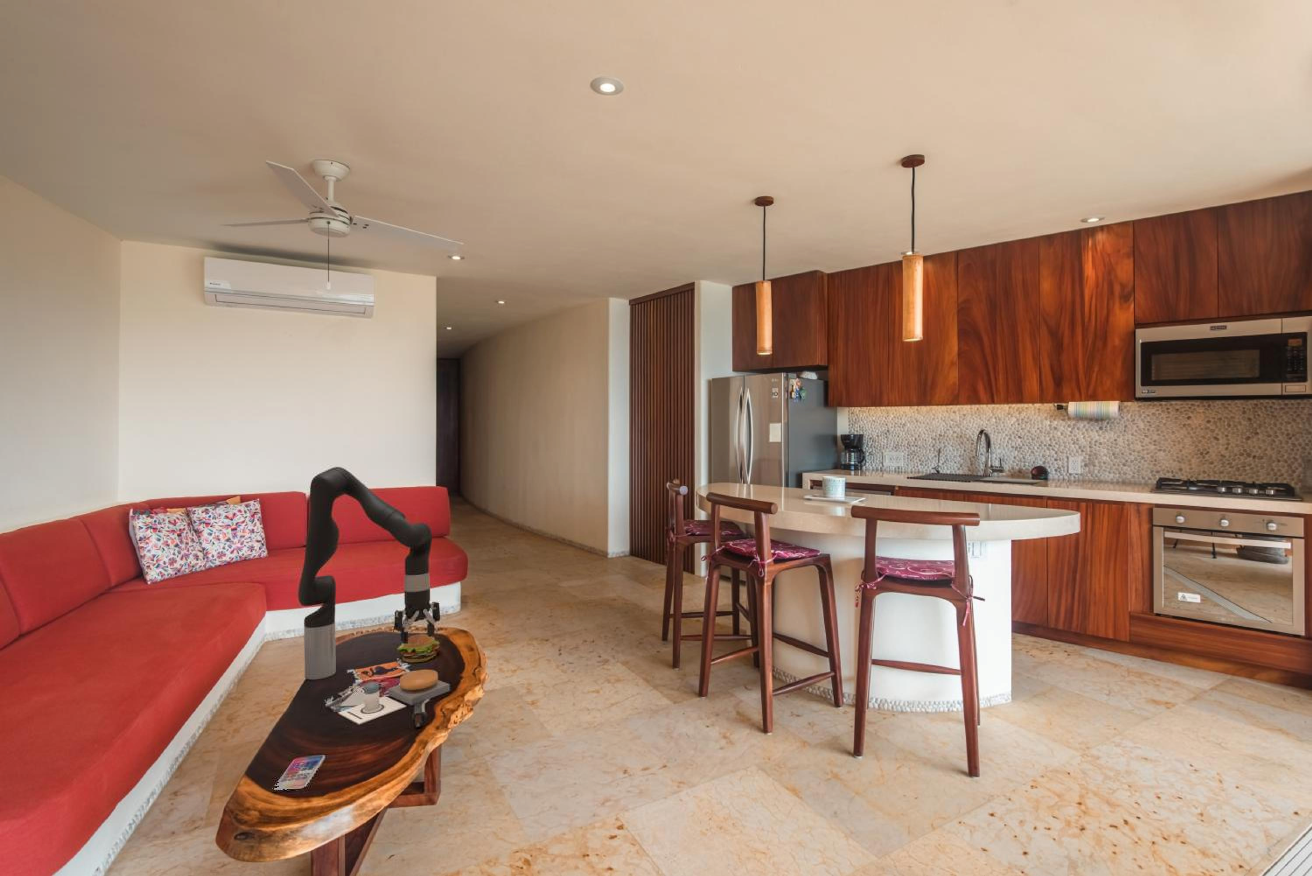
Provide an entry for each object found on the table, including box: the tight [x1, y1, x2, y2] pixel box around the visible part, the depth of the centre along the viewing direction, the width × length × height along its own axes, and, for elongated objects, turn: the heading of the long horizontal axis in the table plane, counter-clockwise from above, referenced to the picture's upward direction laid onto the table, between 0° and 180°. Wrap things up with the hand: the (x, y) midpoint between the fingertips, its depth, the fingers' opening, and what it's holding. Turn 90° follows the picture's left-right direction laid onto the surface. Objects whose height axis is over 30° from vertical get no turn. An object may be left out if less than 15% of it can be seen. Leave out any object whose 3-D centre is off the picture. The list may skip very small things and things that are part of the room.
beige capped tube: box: [363, 681, 380, 711], centre depth 180 cm, size 4×4×7 cm
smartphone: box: [274, 754, 326, 791], centre depth 145 cm, size 7×1×15 cm
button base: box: [387, 679, 451, 706], centre depth 192 cm, size 13×13×2 cm
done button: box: [399, 669, 439, 690], centre depth 192 cm, size 11×11×2 cm
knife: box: [411, 698, 431, 728], centre depth 180 cm, size 26×2×5 cm
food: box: [397, 633, 441, 663], centre depth 224 cm, size 14×14×8 cm
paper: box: [337, 695, 407, 725], centre depth 180 cm, size 12×14×1 cm
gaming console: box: [332, 681, 391, 713], centre depth 190 cm, size 22×1×10 cm
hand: (418, 639), depth 192 cm, fingers open, 8 cm apart
